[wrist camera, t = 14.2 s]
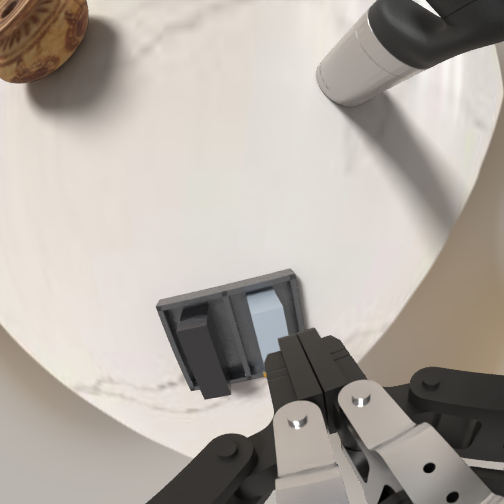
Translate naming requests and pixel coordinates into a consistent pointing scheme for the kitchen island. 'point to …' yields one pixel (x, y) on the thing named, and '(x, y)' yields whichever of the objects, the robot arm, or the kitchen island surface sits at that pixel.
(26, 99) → the kitchen island surface
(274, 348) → the panel
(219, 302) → the dark grey tray
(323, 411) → the robot arm
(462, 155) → the kitchen island surface
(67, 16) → the clay pot
